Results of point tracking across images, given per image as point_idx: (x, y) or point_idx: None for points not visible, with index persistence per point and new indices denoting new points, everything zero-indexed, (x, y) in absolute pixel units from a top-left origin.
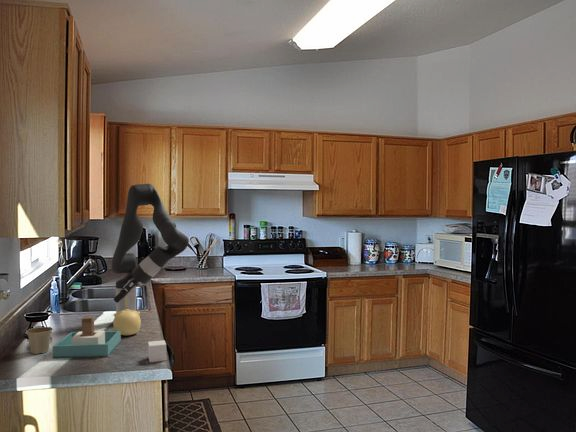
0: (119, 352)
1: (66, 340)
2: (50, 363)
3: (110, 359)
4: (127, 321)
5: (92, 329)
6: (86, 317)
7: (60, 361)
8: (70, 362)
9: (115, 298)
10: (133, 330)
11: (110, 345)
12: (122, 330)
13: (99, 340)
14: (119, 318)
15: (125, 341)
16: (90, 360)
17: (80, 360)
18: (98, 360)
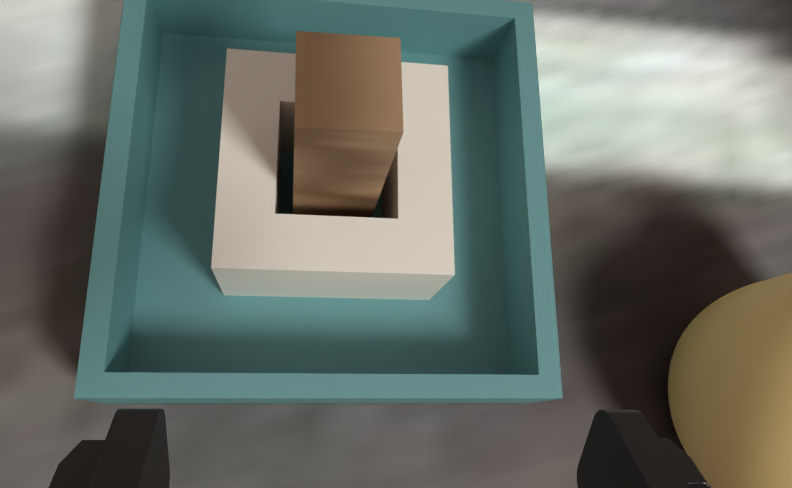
0: (206, 473)
1: (372, 19)
2: (21, 34)
3: (8, 447)
4: (739, 430)
5: (323, 179)
6: (366, 62)
7: (54, 85)
8: (8, 156)
9: (58, 468)
10: (707, 481)
11: (180, 399)
12: (673, 385)
13: (265, 279)
14: (766, 340)
15: (531, 442)
16: (22, 288)
17: (43, 214)
18: (5, 352)
